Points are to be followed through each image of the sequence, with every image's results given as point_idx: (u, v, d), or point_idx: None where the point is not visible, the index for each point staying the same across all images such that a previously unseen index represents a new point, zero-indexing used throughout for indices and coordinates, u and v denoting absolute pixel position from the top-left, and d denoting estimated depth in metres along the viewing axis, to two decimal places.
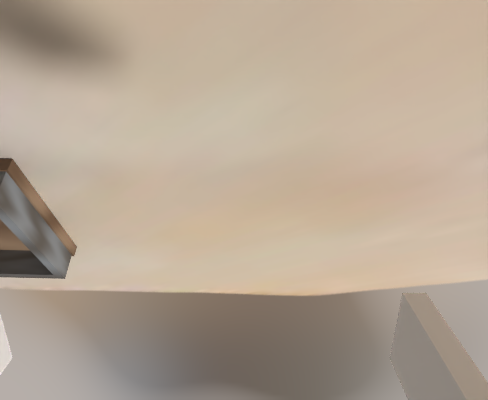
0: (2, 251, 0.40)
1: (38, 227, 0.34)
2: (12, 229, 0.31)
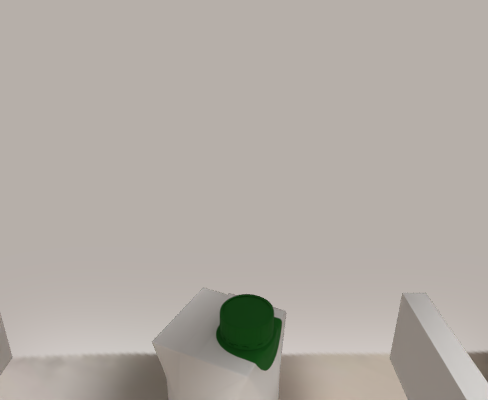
0: None
1: None
2: None
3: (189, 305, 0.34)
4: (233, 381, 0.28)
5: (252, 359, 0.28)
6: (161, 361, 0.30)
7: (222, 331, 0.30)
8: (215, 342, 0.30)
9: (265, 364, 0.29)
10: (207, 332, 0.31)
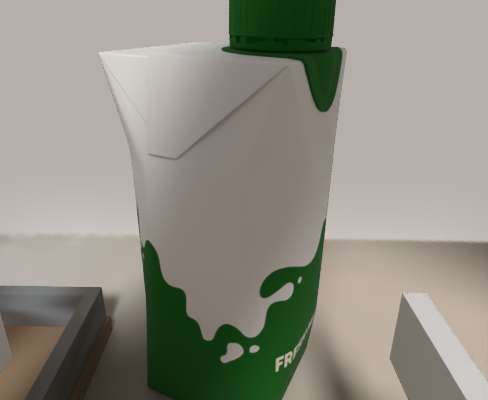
0: None
1: None
2: None
3: (175, 45, 0.19)
4: (256, 85, 0.13)
5: (295, 58, 0.14)
6: (116, 93, 0.16)
7: (234, 26, 0.15)
8: (220, 53, 0.15)
9: (317, 88, 0.15)
10: (205, 46, 0.16)
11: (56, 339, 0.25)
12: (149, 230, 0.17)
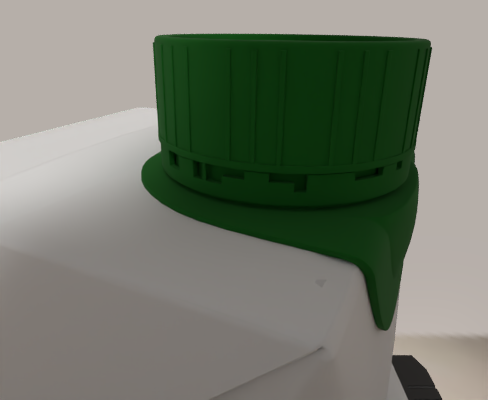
0: None
1: None
2: None
3: (78, 124, 0.10)
4: (208, 385, 0.04)
5: (333, 244, 0.05)
6: None
7: (164, 124, 0.06)
8: (133, 187, 0.06)
9: (388, 295, 0.06)
10: (106, 160, 0.07)
11: None
12: None
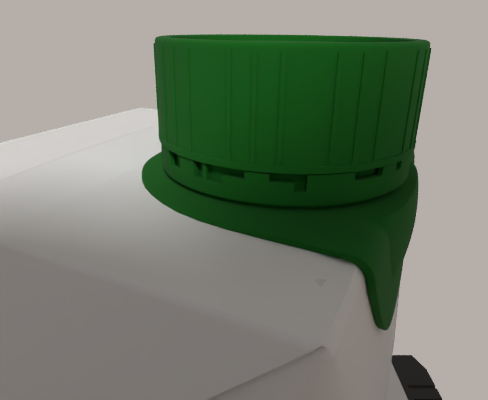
0: None
1: None
2: None
3: (79, 125, 0.10)
4: (208, 383, 0.04)
5: (333, 244, 0.05)
6: None
7: (164, 125, 0.06)
8: (134, 188, 0.06)
9: (387, 294, 0.06)
10: (107, 160, 0.07)
11: None
12: None
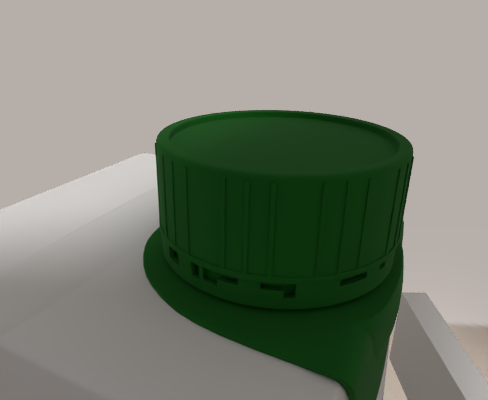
0: None
1: None
2: None
3: (83, 180, 0.10)
4: None
5: (317, 355, 0.05)
6: None
7: (164, 221, 0.06)
8: (136, 275, 0.07)
9: (371, 384, 0.06)
10: (110, 239, 0.07)
11: None
12: None
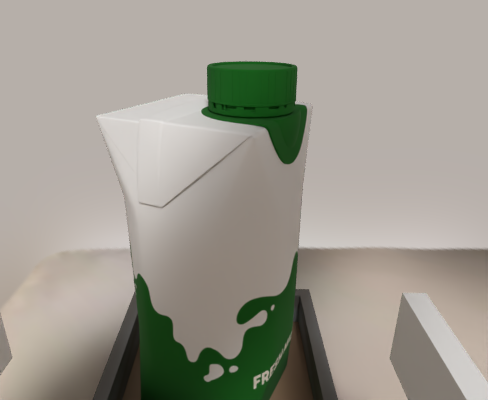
0: (126, 384, 0.26)
1: None
2: None
3: (163, 100, 0.22)
4: (227, 150, 0.16)
5: (260, 124, 0.17)
6: (111, 150, 0.18)
7: (211, 94, 0.18)
8: (200, 115, 0.18)
9: (282, 147, 0.18)
10: (187, 108, 0.19)
11: None
12: (140, 265, 0.20)
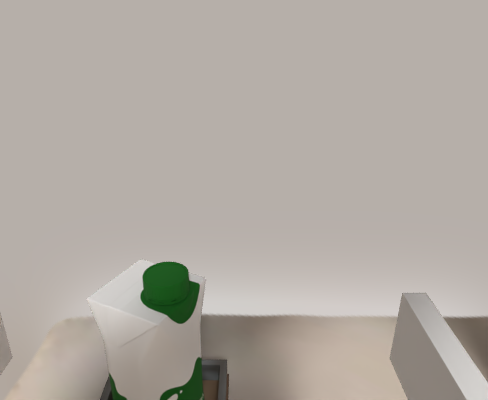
0: None
1: None
2: None
3: (125, 272, 0.40)
4: (147, 329, 0.33)
5: (165, 311, 0.34)
6: (94, 315, 0.36)
7: (144, 290, 0.36)
8: (139, 299, 0.36)
9: (179, 318, 0.35)
10: (134, 292, 0.37)
11: (206, 387, 0.49)
12: (110, 370, 0.37)
